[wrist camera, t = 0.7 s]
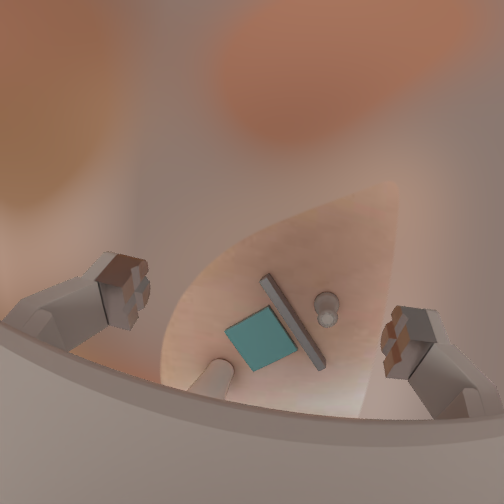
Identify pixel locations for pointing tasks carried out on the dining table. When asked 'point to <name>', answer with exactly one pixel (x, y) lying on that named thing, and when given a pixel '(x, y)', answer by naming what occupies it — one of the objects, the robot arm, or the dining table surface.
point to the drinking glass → (214, 380)
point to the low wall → (293, 321)
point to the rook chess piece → (326, 309)
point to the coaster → (261, 339)
